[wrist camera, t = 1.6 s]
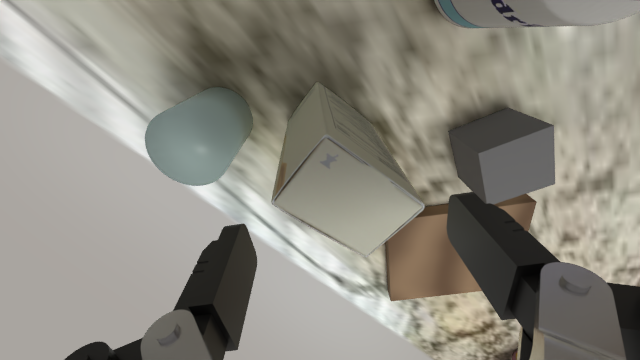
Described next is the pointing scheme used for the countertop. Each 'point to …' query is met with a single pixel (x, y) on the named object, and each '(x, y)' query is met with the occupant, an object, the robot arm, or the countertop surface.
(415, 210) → the skincare box
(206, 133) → the grey-green rounded block
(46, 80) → the countertop surface
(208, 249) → the robot arm
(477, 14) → the beverage can
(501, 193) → the rubber block
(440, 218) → the wooden board
